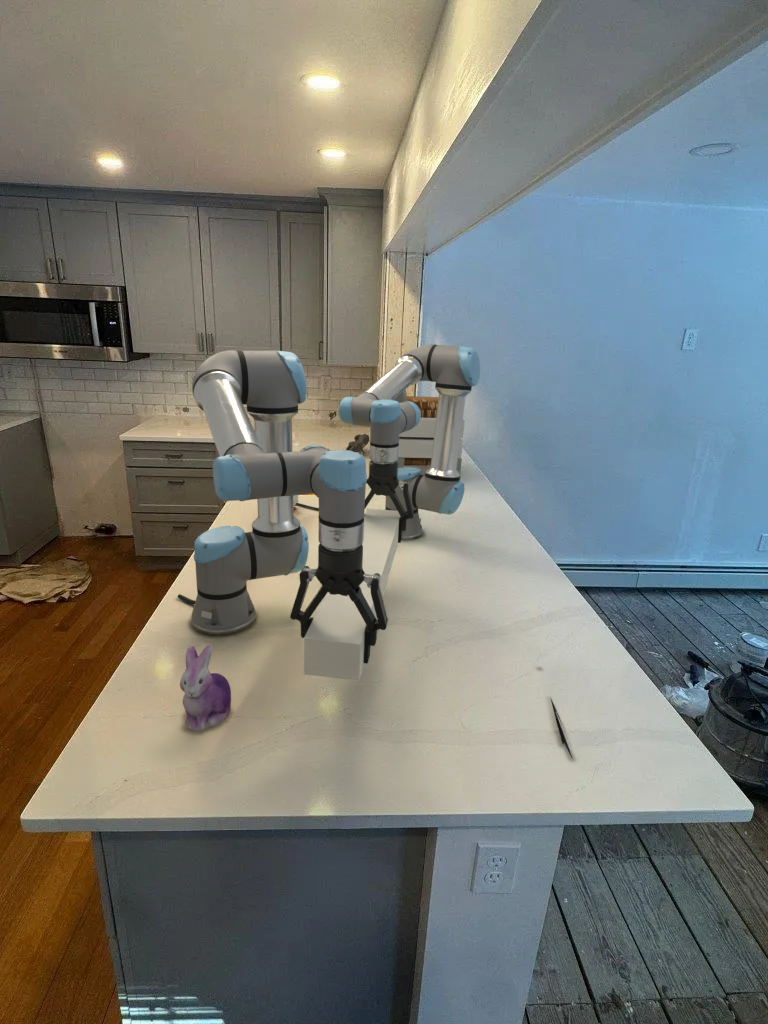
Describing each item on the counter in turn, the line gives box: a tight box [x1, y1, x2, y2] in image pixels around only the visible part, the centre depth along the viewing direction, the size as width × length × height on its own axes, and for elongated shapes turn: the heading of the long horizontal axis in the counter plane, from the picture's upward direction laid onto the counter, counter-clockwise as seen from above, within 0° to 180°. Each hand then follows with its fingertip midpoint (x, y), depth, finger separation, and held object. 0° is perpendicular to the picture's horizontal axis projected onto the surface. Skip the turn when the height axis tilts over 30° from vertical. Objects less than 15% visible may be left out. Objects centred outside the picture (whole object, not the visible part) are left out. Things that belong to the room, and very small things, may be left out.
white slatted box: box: [394, 389, 465, 475], centre depth 268 cm, size 34×33×41 cm
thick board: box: [303, 507, 401, 682], centre depth 128 cm, size 67×10×7 cm, turn 173°
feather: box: [539, 666, 573, 758], centre depth 114 cm, size 2×28×2 cm
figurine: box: [179, 643, 232, 732], centre depth 106 cm, size 9×10×15 cm
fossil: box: [345, 433, 370, 454], centre depth 306 cm, size 22×10×15 cm
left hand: (338, 655), depth 103 cm, fingers closed on thick board, 10 cm apart
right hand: (380, 539), depth 155 cm, fingers closed on thick board, 10 cm apart
